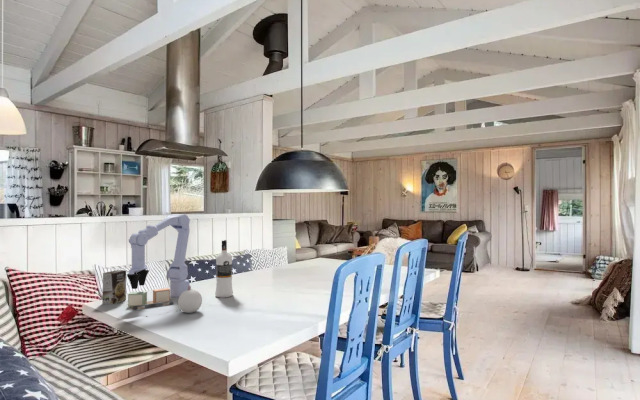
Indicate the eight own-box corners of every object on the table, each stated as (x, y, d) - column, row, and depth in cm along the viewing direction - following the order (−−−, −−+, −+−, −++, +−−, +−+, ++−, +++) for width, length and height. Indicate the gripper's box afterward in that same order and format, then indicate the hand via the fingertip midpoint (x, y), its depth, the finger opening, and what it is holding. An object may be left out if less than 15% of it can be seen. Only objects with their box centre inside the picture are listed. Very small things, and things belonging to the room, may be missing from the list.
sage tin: (132, 304, 184) (132, 291, 184) (146, 304, 184) (146, 291, 185) (128, 306, 180) (128, 293, 180) (143, 306, 180) (143, 293, 180)
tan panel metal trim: (166, 301, 195) (166, 295, 195) (173, 306, 185) (173, 300, 185) (127, 307, 184) (127, 301, 184) (132, 312, 174) (132, 306, 174)
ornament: (177, 310, 177) (177, 284, 177) (200, 308, 181) (200, 282, 181) (178, 316, 168) (178, 289, 168) (203, 314, 172) (203, 287, 172)
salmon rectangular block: (152, 302, 189) (153, 289, 189) (167, 299, 193) (167, 287, 193) (155, 303, 185) (155, 291, 186) (170, 301, 190) (170, 289, 190)
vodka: (231, 293, 212) (231, 239, 213) (234, 297, 203) (234, 240, 204) (214, 294, 209) (214, 239, 209) (216, 298, 200) (216, 241, 201)
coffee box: (113, 306, 185) (113, 273, 185) (101, 306, 186) (102, 272, 186) (126, 302, 194) (126, 270, 194) (115, 301, 195) (115, 269, 195)
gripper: (139, 260, 176) (139, 290, 176) (153, 256, 190) (153, 283, 190) (124, 260, 176) (124, 290, 176) (138, 256, 190) (138, 283, 190)
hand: (138, 287), depth 183 cm, fingers open, 7 cm apart
